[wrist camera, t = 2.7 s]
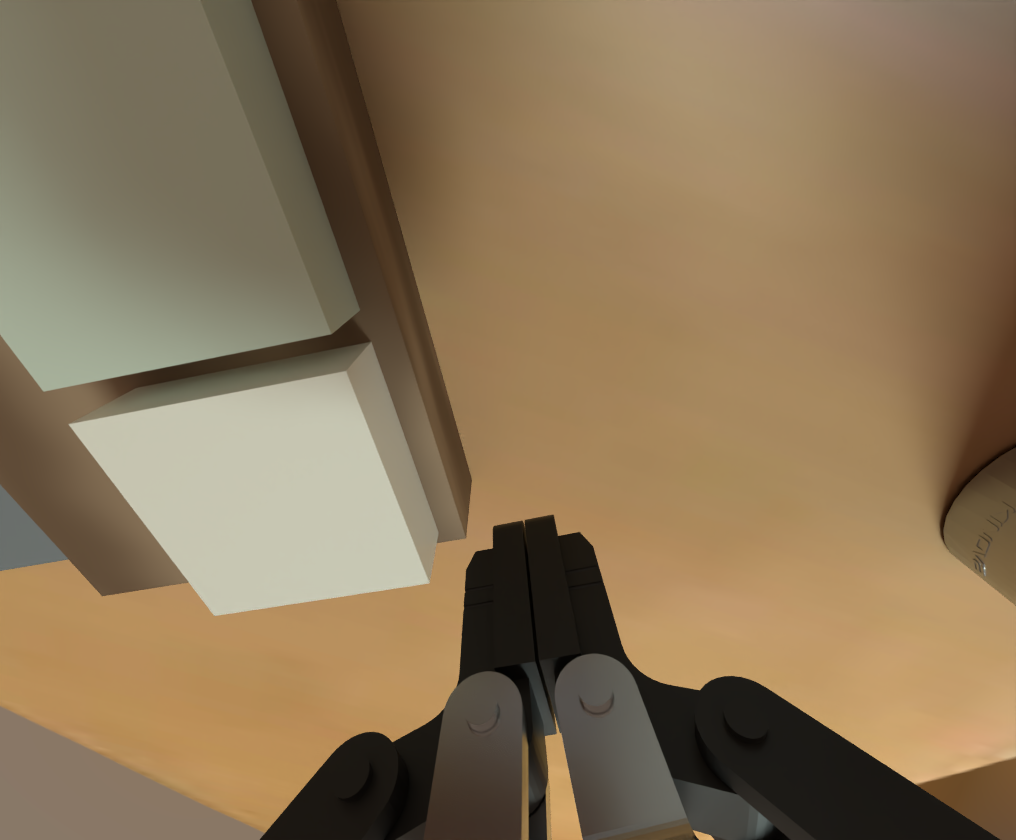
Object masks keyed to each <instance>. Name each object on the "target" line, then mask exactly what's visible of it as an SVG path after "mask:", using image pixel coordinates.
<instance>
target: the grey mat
mask: <svg viewBox="0 0 1016 840" xmlns="http://www.w3.org/2000/svg"><path fill="white" fill-rule="evenodd" d="M62 560H68V558H67V557H66V556H65V555H64V554H63V553H62V552H61V550H60V549H59V548H58V547H57V546H56V545H55V544H54V543H53V542H52V541H51V540H50V538H49V537H48V536H47V535H46V534H45V533H44V532H43V531H42V530H41V529H40V528H39V526H38V525H37V524H36V523H35V522H34V521H33V520H32V519H31V518H30V517H29V515H28V514H27V513H26V512H25V511H24V510H23V509H22V508H21V507H20V506H19V505H18V503H17V502H16V501H15V500H14V499H13V498H12V497H11V496H10V495H9V494H8V493H7V491H6V490H5V489H4V488H3V487H2V486H1V485H0V571H2V570H8V569H14V568H20V567H26V566H32V565H38V564H44V563H50V562H56V561H62Z"/></svg>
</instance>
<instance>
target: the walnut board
mask: <svg viewBox="0 0 1016 840" xmlns="http://www.w3.org/2000/svg"><path fill="white" fill-rule="evenodd" d="M251 2H252V4H253V7H254V10H255V13H256V16H257V19H258V22H259V24H260V27H261V30H262V33H263V36H264V39H265V41H266V44H267V47H268V50H269V53H270V56H271V58H272V61H273V64H274V67H275V70H276V73H277V75H278V78H279V81H280V84H281V87H282V90H283V93H284V95H285V98H286V101H287V104H288V107H289V110H290V112H291V115H292V118H293V121H294V124H295V127H296V129H297V132H298V135H299V138H300V141H301V144H302V146H303V149H304V152H305V155H306V158H307V161H308V164H309V166H310V169H311V172H312V175H313V178H314V181H315V183H316V186H317V189H318V192H319V195H320V198H321V200H322V203H323V206H324V209H325V212H326V215H327V217H328V220H329V223H330V226H331V229H332V232H333V235H334V237H335V240H336V243H337V246H338V249H339V252H340V254H341V257H342V260H343V263H344V266H345V269H346V271H347V274H348V277H349V280H350V283H351V286H352V288H353V291H354V294H355V297H356V300H357V303H358V305H359V308H360V311H359V312H358V313H356V314H355V315H354V316H353V317H352V318H350V319H349V320H348V321H347V322H346V323H344V324H343V325H342V326H341V327H340V328H339V329H337V330H336V331H335V332H334V333H333V334H330V335H325V336H320V337H315V338H310V339H305V340H300V341H295V342H290V343H285V344H280V345H275V346H270V347H265V348H260V349H255V350H250V351H245V352H240V353H235V354H230V355H225V356H220V357H215V358H210V359H205V360H200V361H195V362H190V363H185V364H180V365H175V366H170V367H165V368H160V369H155V370H150V371H145V372H140V373H135V374H130V375H125V376H120V377H115V378H110V379H105V380H100V381H95V382H90V383H85V384H79V385H74V386H69V387H64V388H59V389H54V390H49V391H44V392H43V390H42V389H41V388H40V386H39V385H38V384H37V382H36V381H35V380H34V378H33V377H32V376H31V375H30V373H29V372H28V371H27V369H26V368H25V367H24V365H23V364H22V363H21V361H20V360H19V359H18V357H17V356H16V355H15V354H14V352H13V351H12V350H11V348H10V347H9V346H8V344H7V343H6V342H5V340H4V339H3V338H2V336H1V335H0V485H1V486H2V487H3V488H4V489H5V490H6V491H7V493H8V494H9V495H10V496H11V497H12V498H13V499H14V500H15V501H16V502H17V503H18V505H19V506H20V507H21V508H22V509H23V510H24V511H25V512H26V513H27V514H28V515H29V517H30V518H31V519H32V520H33V521H34V522H35V523H36V524H37V525H38V526H39V528H40V529H41V530H42V531H43V532H44V533H45V534H46V535H47V536H48V537H49V538H50V540H51V541H52V542H53V543H54V544H55V545H56V546H57V547H58V548H59V549H60V550H61V552H62V553H63V554H64V555H65V556H66V557H67V558H68V559H69V560H70V561H71V562H72V564H73V565H74V566H75V567H76V568H77V569H78V570H79V571H80V572H81V573H82V575H83V576H84V577H85V578H86V579H87V580H88V581H89V582H90V583H91V584H92V585H93V587H94V588H95V589H96V590H97V591H98V592H99V593H100V594H101V595H102V596H106V595H113V594H119V593H125V592H132V591H138V590H144V589H150V588H157V587H163V586H169V585H176V584H182V583H188V580H187V579H186V578H185V577H184V575H183V574H182V573H181V571H180V570H179V569H178V567H177V566H176V565H175V563H174V562H173V561H172V560H171V558H170V557H169V556H168V554H167V553H166V552H165V550H164V549H163V548H162V546H161V545H160V544H159V542H158V541H157V540H156V539H155V537H154V536H153V535H152V533H151V532H150V531H149V529H148V528H147V527H146V525H145V524H144V523H143V521H142V520H141V519H140V518H139V516H138V515H137V514H136V512H135V511H134V510H133V508H132V507H131V506H130V504H129V503H128V502H127V500H126V499H125V498H124V497H123V495H122V494H121V493H120V491H119V490H118V489H117V487H116V486H115V485H114V483H113V482H112V481H111V479H110V478H109V477H108V476H107V474H106V473H105V472H104V470H103V469H102V468H101V466H100V465H99V464H98V462H97V461H96V460H95V458H94V457H93V456H92V455H91V453H90V452H89V451H88V449H87V448H86V447H85V445H84V444H83V443H82V441H81V440H80V439H79V438H78V436H77V435H76V434H75V432H74V431H73V430H72V428H71V427H70V426H69V424H70V423H72V422H74V421H76V420H77V419H79V418H81V417H83V416H85V415H87V414H89V413H90V412H92V411H94V410H96V409H98V408H100V407H102V406H103V405H105V404H107V403H109V402H111V401H113V400H115V399H117V398H118V397H120V396H122V395H124V394H126V393H128V392H130V391H131V390H133V389H135V388H138V387H144V386H149V385H154V384H159V383H164V382H169V381H174V380H179V379H184V378H189V377H194V376H199V375H205V374H210V373H215V372H220V371H225V370H230V369H235V368H240V367H245V366H250V365H255V364H261V363H266V362H271V361H276V360H281V359H286V358H291V357H296V356H301V355H306V354H311V353H317V352H322V351H327V350H332V349H337V348H342V347H347V346H352V345H357V344H362V343H367V342H372V345H373V348H374V351H375V354H376V357H377V359H378V362H379V365H380V368H381V371H382V374H383V376H384V379H385V382H386V385H387V388H388V391H389V394H390V396H391V399H392V402H393V405H394V408H395V411H396V413H397V416H398V419H399V422H400V425H401V428H402V430H403V433H404V436H405V439H406V442H407V445H408V447H409V450H410V453H411V456H412V459H413V462H414V465H415V467H416V470H417V473H418V476H419V479H420V482H421V484H422V487H423V490H424V493H425V496H426V499H427V501H428V504H429V507H430V510H431V513H432V516H433V518H434V521H435V524H436V527H437V530H438V539H437V543H440V542H446V541H452V540H459V539H465V538H466V533H467V523H468V513H469V503H470V493H471V482H472V479H471V475H470V472H469V468H468V465H467V461H466V458H465V454H464V451H463V447H462V444H461V440H460V437H459V433H458V429H457V426H456V422H455V419H454V415H453V412H452V408H451V405H450V401H449V398H448V394H447V391H446V387H445V384H444V380H443V377H442V373H441V369H440V366H439V362H438V359H437V355H436V352H435V348H434V345H433V341H432V338H431V334H430V331H429V327H428V324H427V320H426V317H425V313H424V309H423V306H422V302H421V299H420V295H419V292H418V288H417V285H416V281H415V278H414V274H413V271H412V267H411V264H410V260H409V257H408V253H407V249H406V246H405V242H404V239H403V235H402V232H401V228H400V225H399V221H398V218H397V214H396V211H395V207H394V204H393V200H392V197H391V193H390V189H389V186H388V182H387V179H386V175H385V172H384V168H383V165H382V161H381V158H380V154H379V151H378V147H377V144H376V140H375V137H374V133H373V129H372V126H371V122H370V119H369V115H368V112H367V108H366V105H365V101H364V98H363V94H362V91H361V87H360V84H359V80H358V77H357V73H356V69H355V66H354V62H353V59H352V55H351V52H350V48H349V45H348V41H347V38H346V34H345V31H344V27H343V24H342V20H341V17H340V13H339V9H338V6H337V2H336V0H251Z"/></svg>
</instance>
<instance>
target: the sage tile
mask: <svg viewBox="0 0 1016 840" xmlns="http://www.w3.org/2000/svg"><path fill="white" fill-rule="evenodd" d="M359 311H360V308H359V305H358V303H357V300H356V297H355V294H354V291H353V288H352V286H351V283H350V280H349V277H348V274H347V271H346V269H345V266H344V263H343V260H342V257H341V254H340V252H339V249H338V246H337V243H336V240H335V237H334V235H333V232H332V229H331V226H330V223H329V220H328V217H327V215H326V212H325V209H324V206H323V203H322V200H321V198H320V195H319V192H318V189H317V186H316V183H315V181H314V178H313V175H312V172H311V169H310V166H309V164H308V161H307V158H306V155H305V152H304V149H303V146H302V144H301V141H300V138H299V135H298V132H297V129H296V127H295V124H294V121H293V118H292V115H291V112H290V110H289V107H288V104H287V101H286V98H285V95H284V93H283V90H282V87H281V84H280V81H279V78H278V75H277V73H276V70H275V67H274V64H273V61H272V58H271V56H270V53H269V50H268V47H267V44H266V41H265V39H264V36H263V33H262V30H261V27H260V24H259V22H258V19H257V16H256V13H255V10H254V7H253V4H252V2H251V0H0V335H1V336H2V338H3V339H4V340H5V342H6V343H7V344H8V346H9V347H10V348H11V350H12V351H13V352H14V354H15V355H16V356H17V357H18V359H19V360H20V361H21V363H22V364H23V365H24V367H25V368H26V369H27V371H28V372H29V373H30V375H31V376H32V377H33V378H34V380H35V381H36V382H37V384H38V385H39V386H40V388H41V389H42V390H43V392H44V391H49V390H54V389H59V388H64V387H69V386H74V385H79V384H85V383H90V382H95V381H100V380H105V379H110V378H115V377H120V376H125V375H130V374H135V373H140V372H145V371H150V370H155V369H160V368H165V367H170V366H175V365H180V364H185V363H190V362H195V361H200V360H205V359H210V358H215V357H220V356H225V355H230V354H235V353H240V352H245V351H250V350H255V349H260V348H265V347H270V346H275V345H280V344H285V343H290V342H295V341H300V340H305V339H310V338H315V337H320V336H325V335H330V334H333V333H334V332H335V331H336V330H337V329H339V328H340V327H341V326H342V325H343V324H344V323H346V322H347V321H348V320H349V319H350V318H352V317H353V316H354V315H355V314H356V313H358V312H359Z"/></svg>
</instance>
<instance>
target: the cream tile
mask: <svg viewBox="0 0 1016 840" xmlns="http://www.w3.org/2000/svg"><path fill="white" fill-rule="evenodd" d="M69 426H70V427H71V428H72V430H73V431H74V432H75V434H76V435H77V436H78V438H79V439H80V440H81V441H82V443H83V444H84V445H85V447H86V448H87V449H88V451H89V452H90V453H91V455H92V456H93V457H94V458H95V460H96V461H97V462H98V464H99V465H100V466H101V468H102V469H103V470H104V472H105V473H106V474H107V476H108V477H109V478H110V479H111V481H112V482H113V483H114V485H115V486H116V487H117V489H118V490H119V491H120V493H121V494H122V495H123V497H124V498H125V499H126V500H127V502H128V503H129V504H130V506H131V507H132V508H133V510H134V511H135V512H136V514H137V515H138V516H139V518H140V519H141V520H142V521H143V523H144V524H145V525H146V527H147V528H148V529H149V531H150V532H151V533H152V535H153V536H154V537H155V539H156V540H157V541H158V542H159V544H160V545H161V546H162V548H163V549H164V550H165V552H166V553H167V554H168V556H169V557H170V558H171V560H172V561H173V562H174V563H175V565H176V566H177V567H178V569H179V570H180V571H181V573H182V574H183V575H184V577H185V578H186V579H187V580H188V582H189V583H190V584H191V586H192V587H193V588H194V590H195V591H196V592H197V594H198V595H199V596H200V598H201V599H202V600H203V601H204V603H205V604H206V605H207V607H208V608H209V609H210V611H211V612H212V613H213V615H214V616H217V615H224V614H230V613H237V612H243V611H250V610H257V609H263V608H270V607H276V606H283V605H289V604H296V603H303V602H309V601H316V600H322V599H329V598H336V597H342V596H349V595H355V594H362V593H368V592H375V591H382V590H388V589H395V588H401V587H408V586H414V585H421V584H428V583H430V578H431V572H432V567H433V561H434V556H435V550H436V545H437V539H438V530H437V527H436V524H435V521H434V518H433V516H432V513H431V510H430V507H429V504H428V501H427V499H426V496H425V493H424V490H423V487H422V484H421V482H420V479H419V476H418V473H417V470H416V467H415V465H414V462H413V459H412V456H411V453H410V450H409V447H408V445H407V442H406V439H405V436H404V433H403V430H402V428H401V425H400V422H399V419H398V416H397V413H396V411H395V408H394V405H393V402H392V399H391V396H390V394H389V391H388V388H387V385H386V382H385V379H384V376H383V374H382V371H381V368H380V365H379V362H378V359H377V357H376V354H375V351H374V348H373V345H372V342H367V343H362V344H357V345H352V346H347V347H342V348H337V349H332V350H327V351H322V352H317V353H311V354H306V355H301V356H296V357H291V358H286V359H281V360H276V361H271V362H266V363H261V364H255V365H250V366H245V367H240V368H235V369H230V370H225V371H220V372H215V373H210V374H205V375H199V376H194V377H189V378H184V379H179V380H174V381H169V382H164V383H159V384H154V385H149V386H144V387H138V388H135V389H133V390H131V391H130V392H128V393H126V394H124V395H122V396H120V397H118V398H117V399H115V400H113V401H111V402H109V403H107V404H105V405H103V406H102V407H100V408H98V409H96V410H94V411H92V412H90V413H89V414H87V415H85V416H83V417H81V418H79V419H77V420H76V421H74V422H72V423H70V424H69Z"/></svg>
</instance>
